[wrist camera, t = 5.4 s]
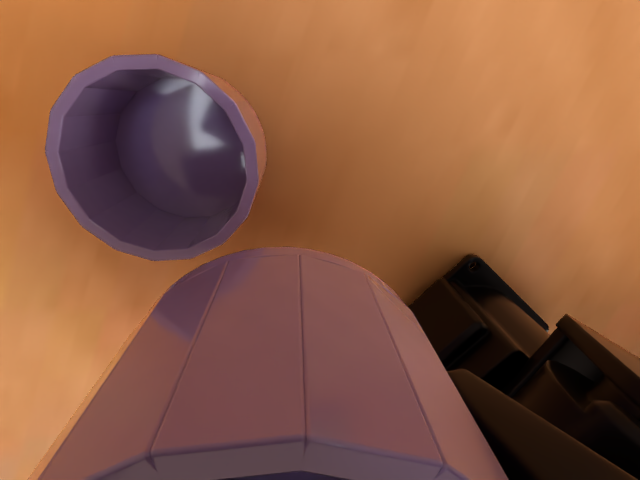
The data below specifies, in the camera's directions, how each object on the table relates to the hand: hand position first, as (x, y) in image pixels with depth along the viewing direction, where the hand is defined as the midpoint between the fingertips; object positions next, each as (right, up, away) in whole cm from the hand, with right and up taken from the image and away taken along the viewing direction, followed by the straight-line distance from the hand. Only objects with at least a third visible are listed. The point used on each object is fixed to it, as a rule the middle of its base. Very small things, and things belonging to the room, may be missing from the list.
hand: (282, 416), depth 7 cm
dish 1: (-5, +7, +9) cm, 12 cm away
